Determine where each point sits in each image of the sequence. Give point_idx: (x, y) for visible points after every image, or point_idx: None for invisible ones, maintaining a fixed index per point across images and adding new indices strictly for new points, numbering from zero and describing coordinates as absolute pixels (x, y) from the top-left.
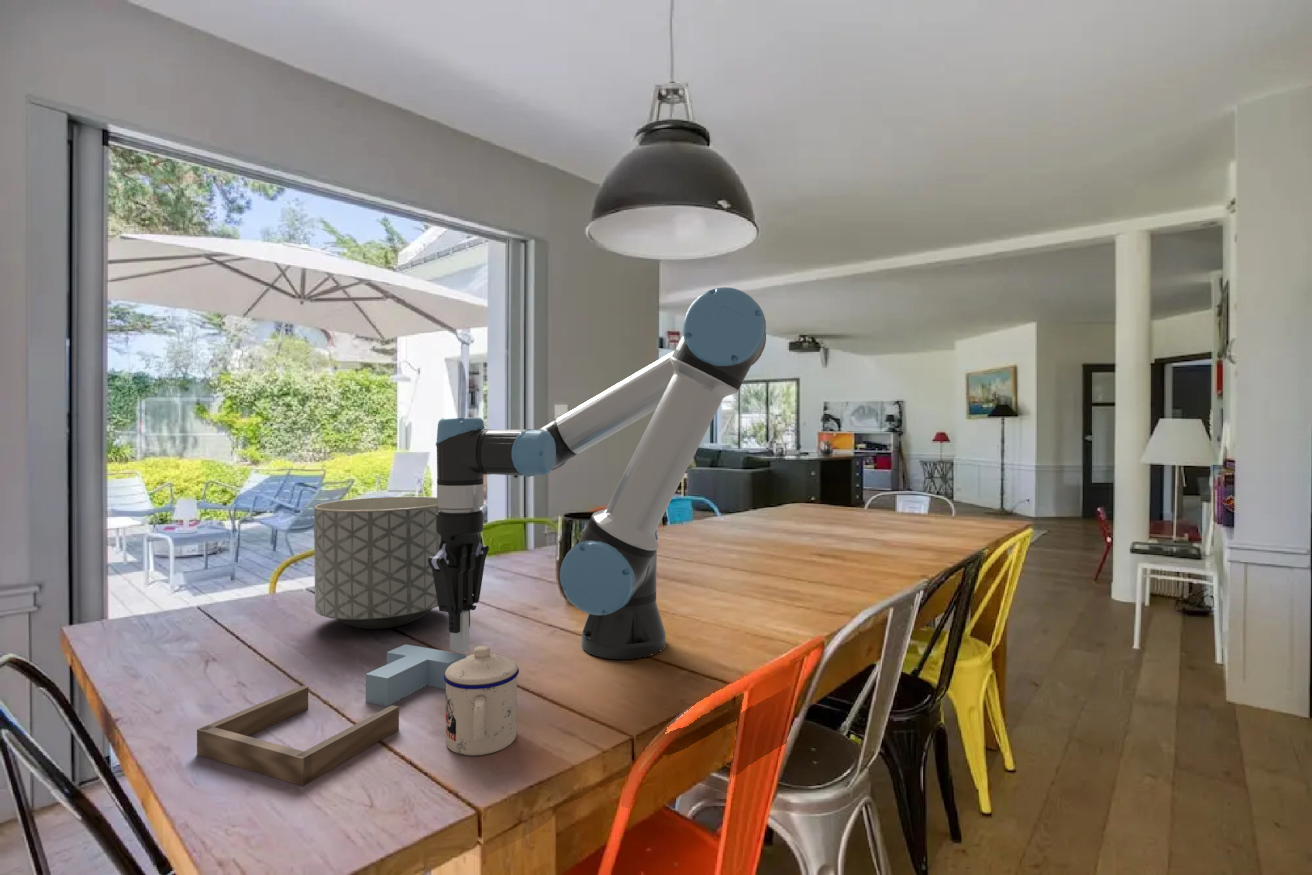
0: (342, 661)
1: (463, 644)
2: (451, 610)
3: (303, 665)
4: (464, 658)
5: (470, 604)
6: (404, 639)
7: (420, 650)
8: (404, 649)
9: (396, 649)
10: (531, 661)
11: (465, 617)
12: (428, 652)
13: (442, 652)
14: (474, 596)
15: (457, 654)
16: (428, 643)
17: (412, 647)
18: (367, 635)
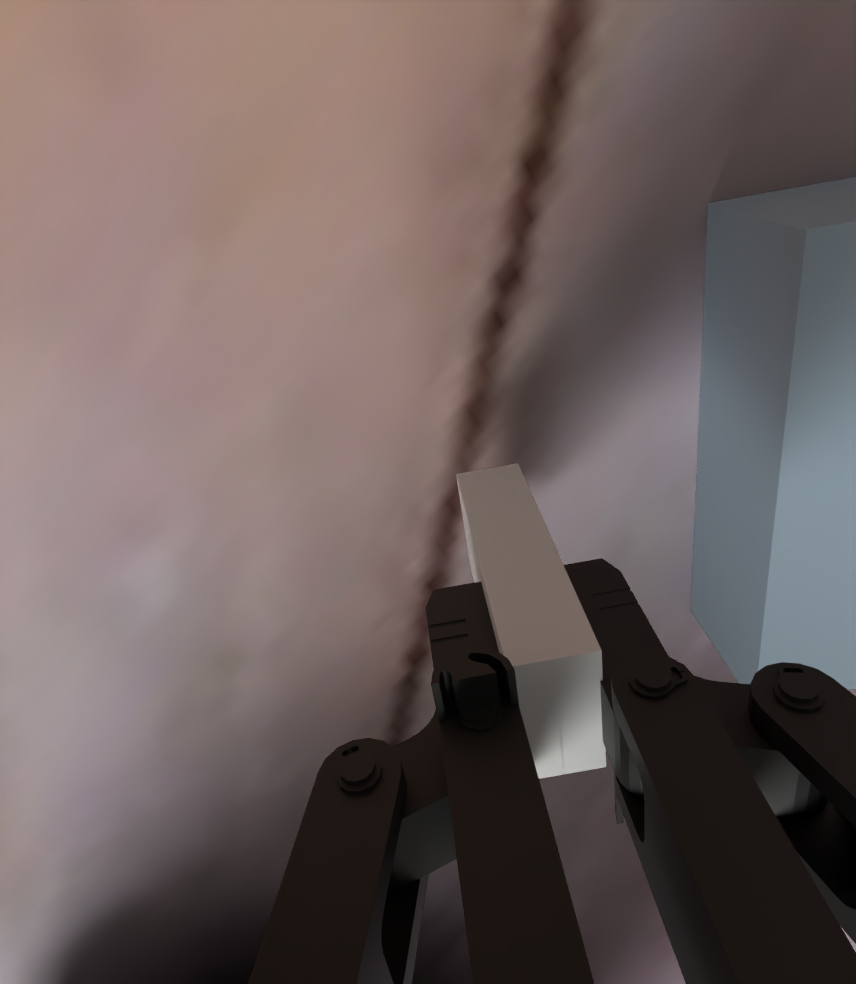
0: None
1: (524, 490)
2: (819, 681)
3: None
4: (806, 222)
5: (488, 724)
6: None
7: (825, 565)
8: (836, 646)
9: (847, 676)
10: (169, 24)
11: (554, 620)
12: (841, 500)
13: (817, 423)
14: (397, 815)
15: (822, 293)
16: None
17: (788, 640)
18: (452, 974)
